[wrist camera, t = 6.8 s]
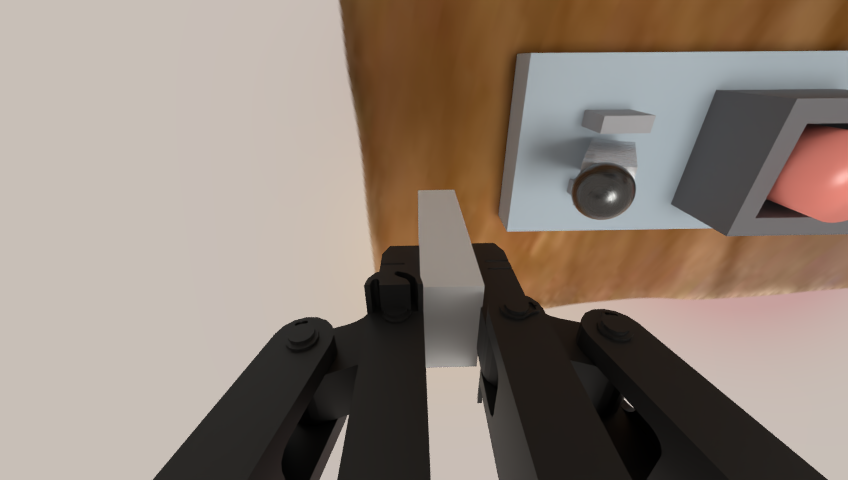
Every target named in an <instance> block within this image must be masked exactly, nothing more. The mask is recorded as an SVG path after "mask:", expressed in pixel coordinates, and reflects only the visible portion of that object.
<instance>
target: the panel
mask: <svg viewBox="0 0 848 480" xmlns="http://www.w3.org/2000/svg"><path fill="white" fill-rule="evenodd" d="M807 124H817V125H823V126H829V127H835V128H841V129H847V130H848V51H753V52H610V53H522V54H517V61H516V69H515V78H514V86H513V95H512V103H511V112H510V120H509V129H508V137H507V146H506V155H505V163H504V172H503V180H502V189H501V197H500V206H499V214H498V215H499V217H500V219H501V221H502V223H503V225H504V227H505V229H506V231H570V230H633V229H696V228H713V229H715V230H717V231H718V232H720V233H722V234H724V235H725V236H765V235H826V234H848V220H847V221H843V222H836V223H827V222H822V221H819V220H817V219H814V218H812V217H809V216H807V215H804V214H802V213H799V212H797V211H794V210H792V209H789V208H787V207H784V206H782V205H779V204H777V203H774V202H772V201H769V200H767V199H766V198H767V196H768V194H769V192H770V191H771V189H772V187H773V185H774V183H775V181H776V180H777V178H778V176H779V174H780V172H781V171H782V169H783V167H784V165H785V163H786V161H787V160H788V158H789V156H790V154H791V152H792V150H793V149H794V147H795V145H796V143H797V141H798V140H799V138H800V136H801V134H802V132H803V130H804V129H805V127H806V125H807ZM592 138H595V139H606V140H618V141H629V142H635V143H636V154H637V165H638V168H637V171H636V174H635V178H634V180H635V184H636V194H635V198H634V200H633V202H632V204H631V205H630V207H629V208H628V209H627V210H626V211H625V212H623V214H620V215H619V216H616V217H614V218H611V219H606V220H596V219H591V218H588V217H586V216H584V215H583V214H581V213H580V212H579V211H578V210H577V209H576V208H575V206H574V205H572V204H573V202H572V199H571V188H572V184H573V182H574V180H575V178H576V177H577V175H578V174H579V173H580V170H581V166H582V162H583V159H584V157H585V155H586V152H587V150H588V148H589V145H590V143H591V141H592Z"/></svg>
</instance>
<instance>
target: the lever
mask: <svg viewBox="0 0 848 480" xmlns="http://www.w3.org/2000/svg"><path fill="white" fill-rule="evenodd" d="M637 168H638V165H637V154H636V143H635V142H629V141H618V140H606V139H595V138H592V141H591V143H590V145H589V148H588V150H587V152H586V155H585V157H584V159H583V162H582V166H581V170H580V173H579V174H578V175H577V177H576V178H575V180H574V182H573V184H572V188H571V199H572V202H573V204H572V205H574V206H575V208H576V209H577V210H578V211H579V212H580V213H581V214H583V215H584V216H586V217H588V218H591V219H596V220H606V219H611V218H614V217H616V216H619V215H620V214H623V212H625V211H626V210H627V209H628V208H629V207H630V205H631V204H632V202H633V200H634V198H635V194H636V184H635V180H634V178H635V174H636V171H637Z"/></svg>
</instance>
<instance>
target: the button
mask: <svg viewBox="0 0 848 480" xmlns="http://www.w3.org/2000/svg"><path fill="white" fill-rule="evenodd" d="M766 199H767V200H769V201H772V202H774V203H777V204H779V205H782V206H784V207H787V208H789V209H792V210H794V211H797V212H799V213H802V214H804V215H807V216H809V217H812V218H814V219H817V220H819V221H822V222H827V223H836V222H843V221H847V220H848V130H847V129H841V128H835V127H829V126H823V125H817V124H807V125H806V127H805V129H804V130H803V132H802V134H801V136H800V138H799V140H798V141H797V143H796V145H795V147H794V149H793V150H792V152H791V154H790V156H789V158H788V160H787V161H786V163H785V165H784V167H783V169H782V171H781V172H780V174H779V176H778V178H777V180H776V181H775V183H774V185H773V187H772V189H771V191H770V192H769V194H768V196H767V198H766Z"/></svg>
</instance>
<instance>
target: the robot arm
mask: <svg viewBox="0 0 848 480" xmlns="http://www.w3.org/2000/svg"><path fill="white" fill-rule="evenodd" d="M418 225H419V246H390V247H389V248H388V249H387V250H386V251H385V252H384V253H383V254H382V260H381V266H380V272H377V273H375V274H373V275H372V276H371V277H369V278H368V279H367V281H366V283H365V285H364V288H365V296H366V305H367V313H368V314H367V315H366V316H365V317H364V318H362V319H360V320H358V321H357V322H354V323H351V324H348V325H345V326H341V327H337V328H333V327H332V325H331V324H330V323H329V322H328V321H327V320H323V319H321V318H318V317H315V318H314V317H308V318H307V317H306V318H303V319H298V320H295V321H293V322H291V323H289V324H287V325H285V326H283V327H282V328H281V329H280V330H279V331H278V332H277V333H275V335H274V336H273V337H272V338H271V339H270V341H269V342H268V343H267V344H266V345H265V347H264V348H263V349H262V350H261V351H260V352H259V354H258V355H257V356H256V357H255V358H254V360H253V361H252V362H251V363H250V364H249V366H248V367H247V368H246V369H245V371H244V372H243V373H242V374H241V375H240V376H239V378H238V379H237V380H236V381H235V382H234V383H233V385H232V386H231V387H230V388H229V390H228V391H227V392H226V393H225V395H223V397H222V398H221V399H220V400H219V402H218V403H217V404H216V405H215V406H214V407H213V409H212V410H211V411H210V412H209V413H208V414H207V416H206V417H205V418H204V419H203V420H202V422H201V423H200V424H199V425H198V427H197V428H196V429H195V430H194V431H193V432H192V434H191V435H190V436H189V437H188V438H187V440H186V441H185V442H184V443H183V444H182V445H181V447H180V448H179V449H178V450H177V452H176V453H175V454H174V455H173V456H172V458H171V459H170V460H169V461H168V462H167V463H166V465H165V466H164V467H163V468H162V470H161V471H160V472H159V473H158V474H157V475H156V477H155V478H154V479H153V480H319V479H320V477H321V475H322V472H323V470H324V468H325V466H326V463H327V461H328V459H329V457H330V454H331V452H332V450H333V448H334V445H335V443H336V441H337V438H338V436H339V434H340V432H341V429H342V427H343V425H344V423H345V420H346V417H347V415H349V419H348V424H347V430H346V435H345V441H344V446H343V452H342V457H341V463H340V468H339V474H338V479H337V480H430V457H429V432H428V410H427V409H428V408H427V386H426V385H427V384H426V368H430V367H464V366H465V367H467V366H476V365H477V356H478V357H479V361H480V367H481V371H480V379H479V388H478V403H482V398H483V403H484V408H485V413H486V418H487V423H488V428H489V433H490V438H491V443H492V448H493V453H494V457H495V463H496V468H497V473H498V478H499V480H828V479H826V478H825V477H824V476H823V475H821V474H820V473H819V472H818V471H816V470H815V469H814V468H813V467H812V466H810V465H809V464H808V463H807V462H806V461H805V460H803V459H802V458H801V457H800V456H798V455H797V454H796V453H795V452H793V451H792V450H791V449H790V448H789V447H788V446H786V445H785V444H784V443H783V442H782V441H780V440H779V439H778V438H777V437H775V436H774V435H773V434H772V433H771V432H769V431H768V430H767V429H766V428H765V427H763V426H762V425H761V424H760V423H759V422H757V421H756V420H755V419H754V418H752V417H751V416H750V415H749V414H748V413H746V412H745V411H744V410H743V409H742V408H740V407H739V406H738V405H737V404H736V403H734V402H733V401H732V400H731V399H729V398H728V397H727V396H726V395H725V394H723V393H722V392H721V391H720V390H719V389H717V388H716V387H715V386H714V385H713V384H711V383H710V382H709V381H708V380H707V379H705V378H704V377H703V376H702V375H700V374H699V373H698V372H697V371H696V370H694V369H693V368H692V367H691V366H689V365H688V364H687V363H686V362H685V361H683V360H682V359H681V358H680V357H678V356H677V355H676V354H675V353H674V352H673V351H671V350H670V349H669V348H668V347H666V346H665V345H664V344H663V343H661V341H659V340H658V339H657V338H656V337H654V336H653V335H652V334H651V333H650V332H648V331H647V330H646V329H645V328H644V327H642V326H641V325H640V324H639V323H637V322H636V321H634V320H633V319H631V318H630V317H628V316H626V315H623V314H621V313H618V312H616V311H611V310H605V309H597V310H596V309H595V310H591V311H589V312H586V313H585V314H584V316H583V317H582V319H581V322H575V321H570V320H565V319H560V318H556V317H552V316H549V315H547V314H545V312H544V310H543V308H542V307H541V306H540V305H539V303H538V302H536V301H535V300H533V299H532V298H530V297H528V296H525V294H524V292H523V290H522V288H521V286H520V284H519V282H518V280H517V278H516V275H515V273H514V271H513V269H512V267H511V265H510V263H509V262H508V259H507V257H506V255H505V252H504V251H503V250H502V249H501V248H499V247H498V246H497V245H496V244H494V243H476V244H471V241H470V238H469V235H468V232H467V229H466V225H465V222H464V219H463V216H462V213H461V210H460V206H459V203H458V200H457V197H456V194H455V191H454V190H418ZM624 398H626V399H627V401H628V402H629V403H630V404H631V405H632V406H633V407H634V408H632V407H631V406H630V405H629V404H628V403H627V402H626V401H625V400H624Z"/></svg>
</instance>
